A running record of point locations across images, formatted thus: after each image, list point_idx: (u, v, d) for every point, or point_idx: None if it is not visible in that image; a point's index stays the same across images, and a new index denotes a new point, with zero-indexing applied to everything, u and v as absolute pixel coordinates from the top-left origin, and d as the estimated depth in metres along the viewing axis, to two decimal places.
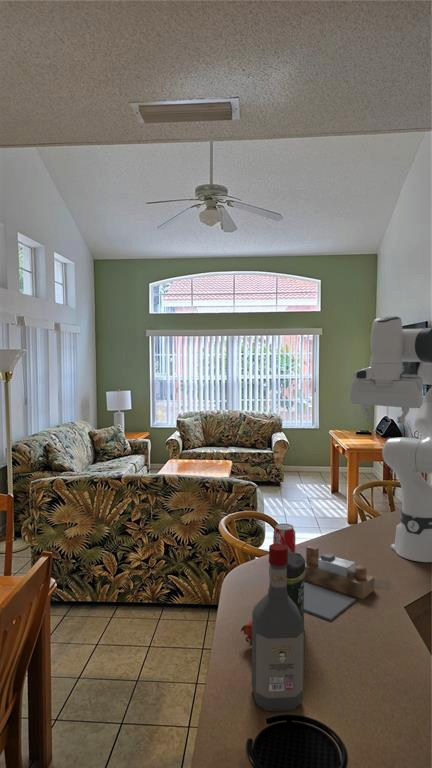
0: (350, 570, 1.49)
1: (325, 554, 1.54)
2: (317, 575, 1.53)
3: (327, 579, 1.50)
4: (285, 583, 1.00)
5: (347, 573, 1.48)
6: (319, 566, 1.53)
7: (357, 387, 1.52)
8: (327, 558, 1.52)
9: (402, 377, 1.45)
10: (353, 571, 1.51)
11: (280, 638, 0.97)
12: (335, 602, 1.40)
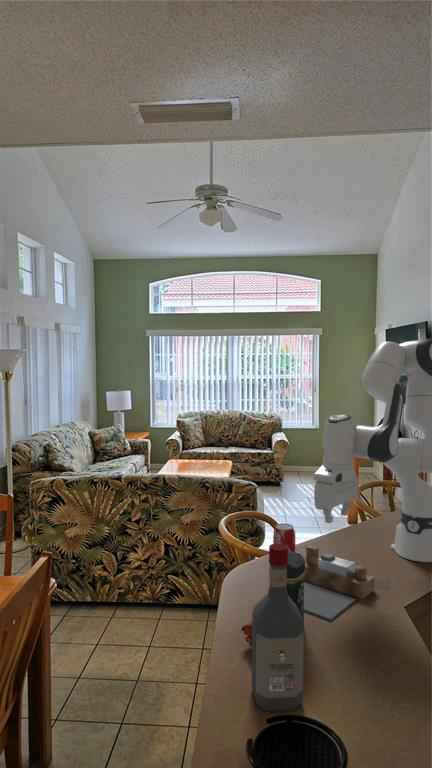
0: (350, 570, 1.49)
1: (325, 554, 1.54)
2: (317, 575, 1.53)
3: (327, 579, 1.50)
4: (285, 583, 1.00)
5: (347, 573, 1.48)
6: (319, 566, 1.53)
7: (330, 492, 1.44)
8: (327, 558, 1.52)
9: None
10: (353, 571, 1.51)
11: (280, 638, 0.97)
12: (335, 602, 1.40)
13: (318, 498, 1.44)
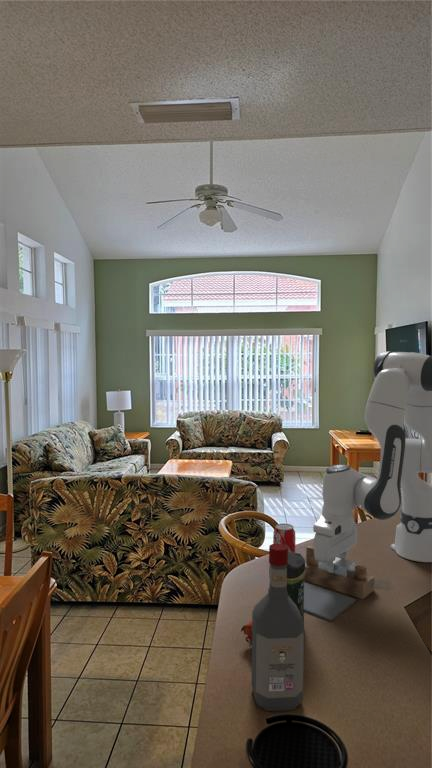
0: (350, 570, 1.49)
1: None
2: (317, 575, 1.53)
3: (327, 579, 1.50)
4: (285, 583, 1.00)
5: (347, 573, 1.48)
6: (319, 566, 1.53)
7: (330, 544, 1.45)
8: None
9: None
10: (353, 571, 1.51)
11: (280, 638, 0.97)
12: (335, 602, 1.40)
13: (318, 550, 1.45)
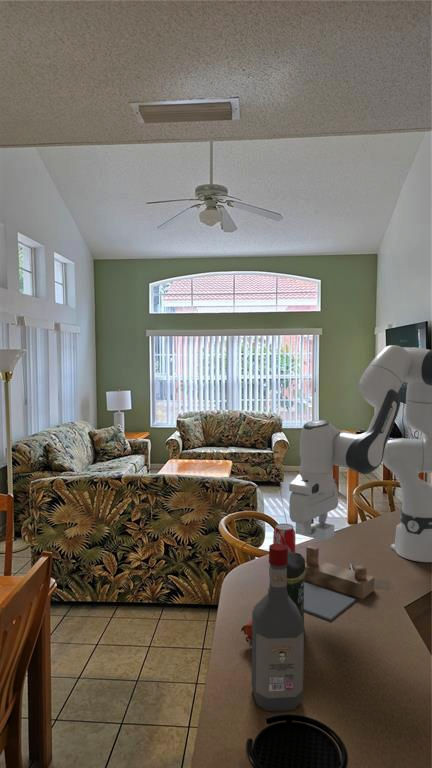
0: (329, 533, 1.38)
1: None
2: (317, 575, 1.53)
3: (327, 579, 1.50)
4: (285, 583, 1.00)
5: (325, 535, 1.37)
6: (296, 530, 1.42)
7: (306, 503, 1.34)
8: None
9: None
10: (332, 534, 1.40)
11: (280, 638, 0.97)
12: (335, 602, 1.40)
13: (293, 510, 1.34)
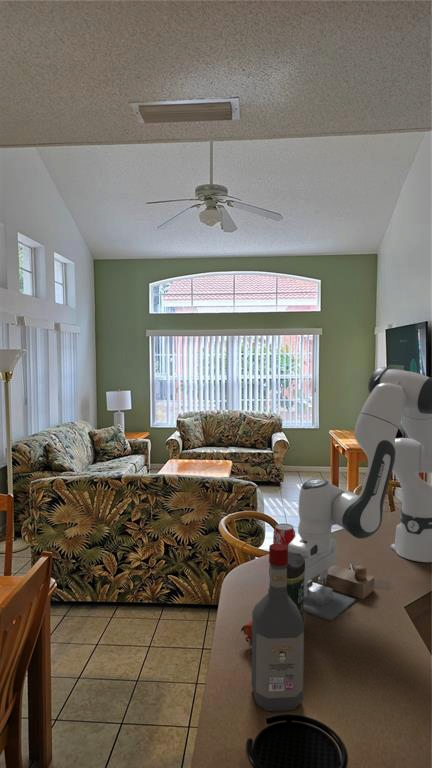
0: (327, 597, 1.40)
1: None
2: (317, 575, 1.53)
3: (327, 579, 1.50)
4: (285, 583, 1.00)
5: (324, 601, 1.38)
6: None
7: (305, 565, 1.35)
8: None
9: None
10: (331, 598, 1.41)
11: (280, 638, 0.97)
12: (335, 602, 1.40)
13: None
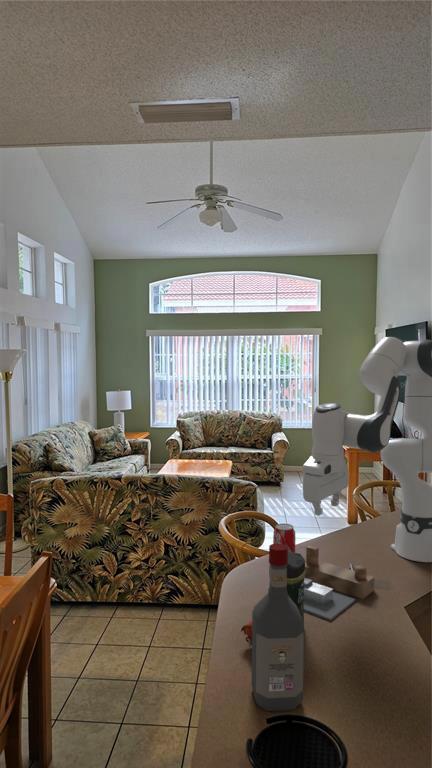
0: (327, 597, 1.40)
1: None
2: (317, 575, 1.53)
3: (327, 579, 1.50)
4: (285, 583, 1.00)
5: (324, 601, 1.38)
6: None
7: (319, 484, 1.39)
8: None
9: None
10: (331, 598, 1.41)
11: (280, 638, 0.97)
12: (335, 602, 1.40)
13: (307, 491, 1.40)
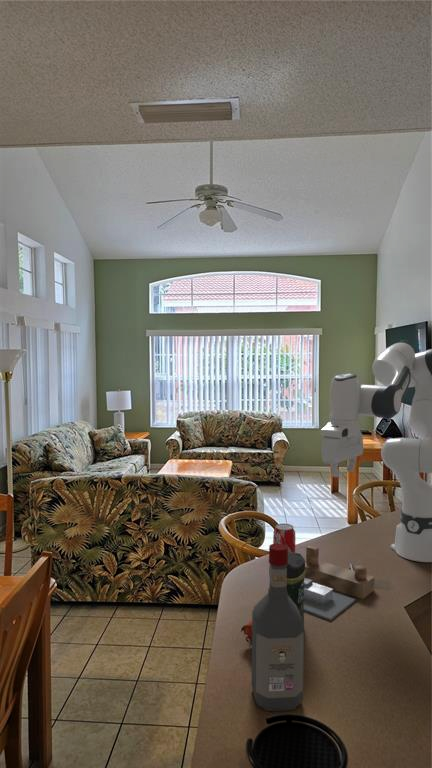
0: (327, 597, 1.40)
1: None
2: (317, 575, 1.53)
3: (327, 579, 1.50)
4: (285, 583, 1.00)
5: (324, 601, 1.38)
6: None
7: (337, 446, 1.50)
8: None
9: None
10: (331, 598, 1.41)
11: (280, 638, 0.97)
12: (335, 602, 1.40)
13: (325, 452, 1.50)
